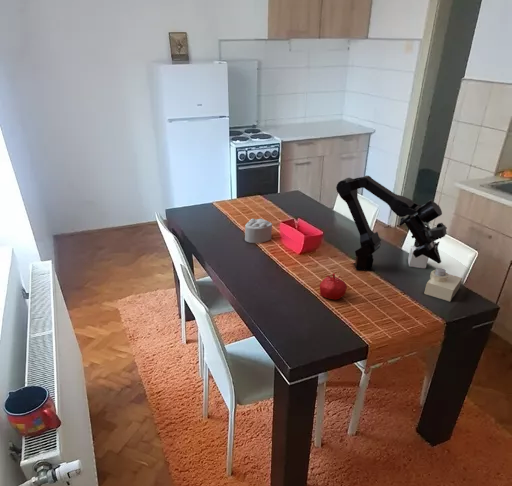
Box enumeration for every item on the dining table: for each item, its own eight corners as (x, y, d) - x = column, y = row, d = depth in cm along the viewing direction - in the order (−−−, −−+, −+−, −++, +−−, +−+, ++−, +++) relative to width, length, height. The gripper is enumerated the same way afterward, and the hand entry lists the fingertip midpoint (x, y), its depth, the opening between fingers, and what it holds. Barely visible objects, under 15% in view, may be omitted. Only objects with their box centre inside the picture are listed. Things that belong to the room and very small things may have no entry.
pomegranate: (338, 305, 172) (342, 282, 167) (314, 297, 177) (317, 275, 172) (349, 294, 180) (352, 272, 175) (325, 287, 184) (328, 265, 179)
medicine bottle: (425, 268, 202) (432, 243, 196) (408, 266, 203) (415, 241, 197) (424, 262, 208) (430, 236, 202) (407, 260, 209) (413, 234, 203)
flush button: (433, 274, 182) (435, 270, 181) (436, 271, 185) (437, 267, 184) (443, 277, 181) (444, 272, 179) (445, 274, 183) (446, 269, 182)
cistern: (422, 293, 183) (426, 277, 179) (432, 281, 192) (436, 265, 189) (450, 301, 178) (454, 285, 174) (458, 289, 187) (463, 273, 184)
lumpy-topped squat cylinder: (274, 238, 224) (275, 221, 219) (254, 245, 216) (255, 227, 212) (259, 232, 230) (259, 215, 226) (239, 238, 222) (239, 221, 218)
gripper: (428, 224, 168) (452, 261, 168) (443, 211, 181) (465, 245, 182) (403, 240, 175) (425, 274, 176) (419, 226, 189) (439, 258, 189)
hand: (440, 262), depth 181 cm, fingers closed
